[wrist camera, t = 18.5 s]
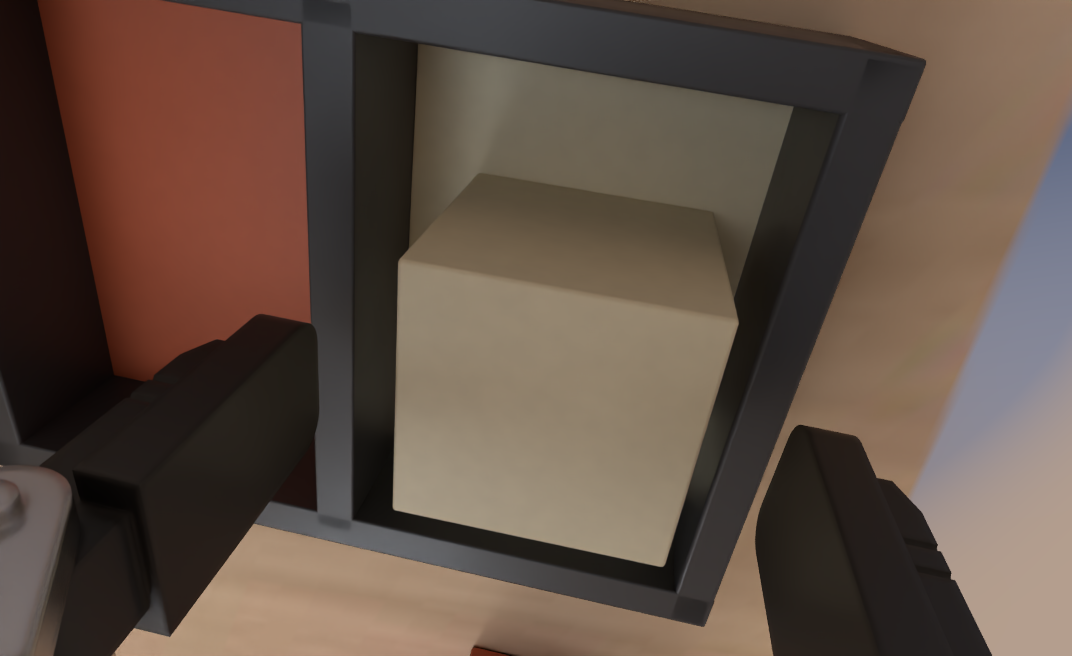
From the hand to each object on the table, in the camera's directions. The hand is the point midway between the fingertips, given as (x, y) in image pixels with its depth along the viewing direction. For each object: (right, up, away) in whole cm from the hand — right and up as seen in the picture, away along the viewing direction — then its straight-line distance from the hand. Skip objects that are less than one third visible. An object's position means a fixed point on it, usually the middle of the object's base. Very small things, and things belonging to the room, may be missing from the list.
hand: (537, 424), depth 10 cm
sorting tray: (-3, +3, +5) cm, 7 cm away
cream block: (+1, +2, +4) cm, 4 cm away
